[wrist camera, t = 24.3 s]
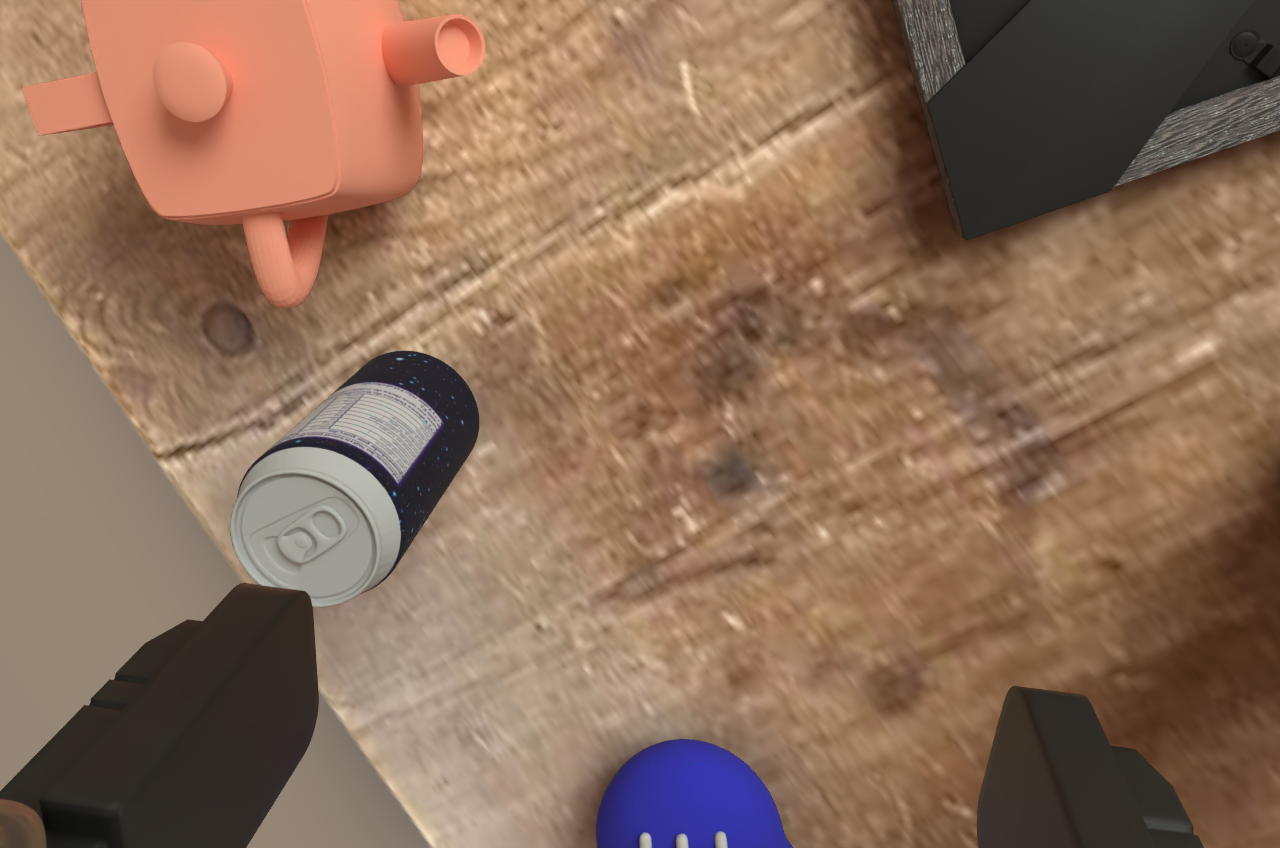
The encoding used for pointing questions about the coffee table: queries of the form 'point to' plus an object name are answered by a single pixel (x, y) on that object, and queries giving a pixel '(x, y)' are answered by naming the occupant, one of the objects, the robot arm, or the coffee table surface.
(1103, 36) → the picture frame
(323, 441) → the beverage can
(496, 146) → the coffee table surface
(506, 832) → the coffee table surface
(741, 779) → the decorative object
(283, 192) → the teapot
